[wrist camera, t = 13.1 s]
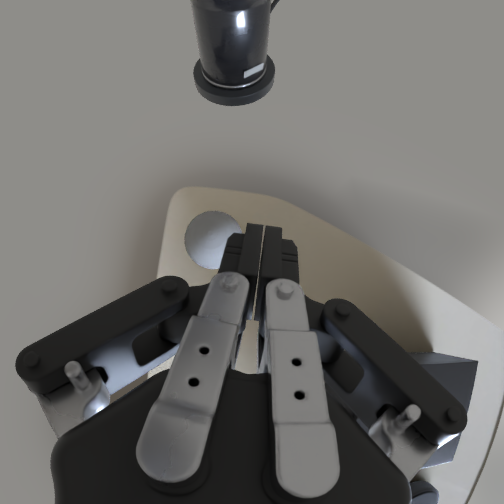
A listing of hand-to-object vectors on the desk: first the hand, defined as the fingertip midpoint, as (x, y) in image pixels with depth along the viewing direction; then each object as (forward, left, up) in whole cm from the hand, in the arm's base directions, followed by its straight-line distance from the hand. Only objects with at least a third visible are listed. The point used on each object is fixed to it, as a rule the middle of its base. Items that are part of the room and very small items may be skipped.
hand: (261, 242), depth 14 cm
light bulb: (-2, -5, -22) cm, 23 cm away
